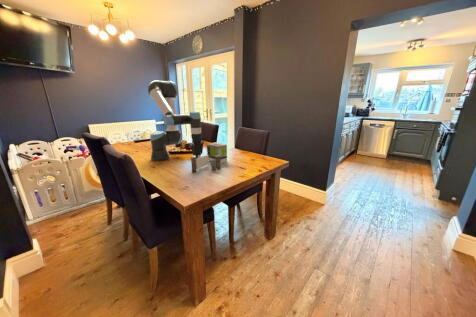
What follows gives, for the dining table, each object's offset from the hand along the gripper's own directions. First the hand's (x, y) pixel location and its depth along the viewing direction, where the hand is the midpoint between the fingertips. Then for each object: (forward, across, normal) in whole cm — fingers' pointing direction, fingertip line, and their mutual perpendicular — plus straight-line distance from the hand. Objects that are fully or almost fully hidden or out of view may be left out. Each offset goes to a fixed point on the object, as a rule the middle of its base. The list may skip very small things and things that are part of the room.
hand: (198, 163), depth 149 cm
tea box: (+3, +19, -3) cm, 19 cm away
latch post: (+3, +4, -16) cm, 17 cm away
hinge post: (+3, -11, -7) cm, 13 cm away
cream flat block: (+1, -2, -6) cm, 6 cm away
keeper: (+3, 0, -16) cm, 16 cm away
